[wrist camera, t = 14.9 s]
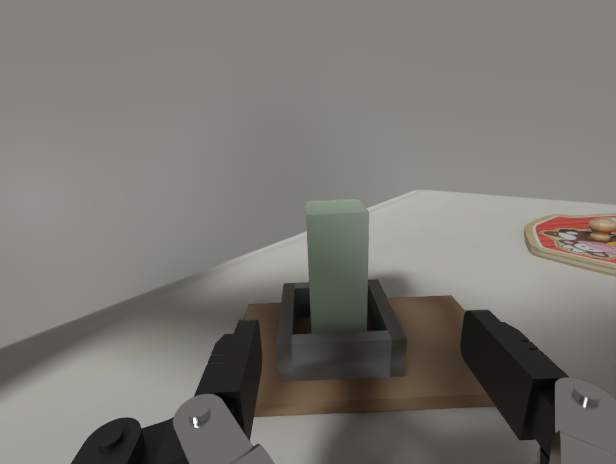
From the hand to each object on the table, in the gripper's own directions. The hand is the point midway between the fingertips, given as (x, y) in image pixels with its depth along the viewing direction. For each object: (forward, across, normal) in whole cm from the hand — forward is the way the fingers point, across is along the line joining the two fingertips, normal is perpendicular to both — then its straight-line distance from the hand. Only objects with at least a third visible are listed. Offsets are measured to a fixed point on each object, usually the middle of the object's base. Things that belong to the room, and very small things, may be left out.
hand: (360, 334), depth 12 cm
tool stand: (+11, -2, +10) cm, 15 cm away
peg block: (+11, 0, +8) cm, 14 cm away
